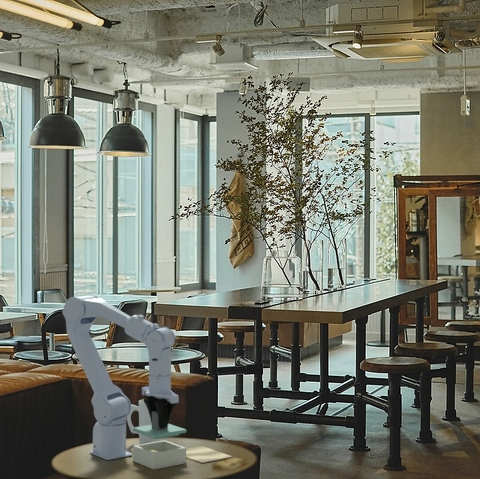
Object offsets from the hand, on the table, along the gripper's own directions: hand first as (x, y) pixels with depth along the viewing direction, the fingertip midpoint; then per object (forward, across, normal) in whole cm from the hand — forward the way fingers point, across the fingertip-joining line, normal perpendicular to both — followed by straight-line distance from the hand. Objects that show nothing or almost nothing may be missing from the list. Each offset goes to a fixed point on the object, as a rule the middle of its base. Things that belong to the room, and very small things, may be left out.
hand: (159, 426), depth 238 cm
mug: (+10, -19, +8) cm, 23 cm away
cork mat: (+9, +1, +13) cm, 16 cm away
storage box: (+9, 0, 0) cm, 9 cm away
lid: (+2, 0, 0) cm, 2 cm away
